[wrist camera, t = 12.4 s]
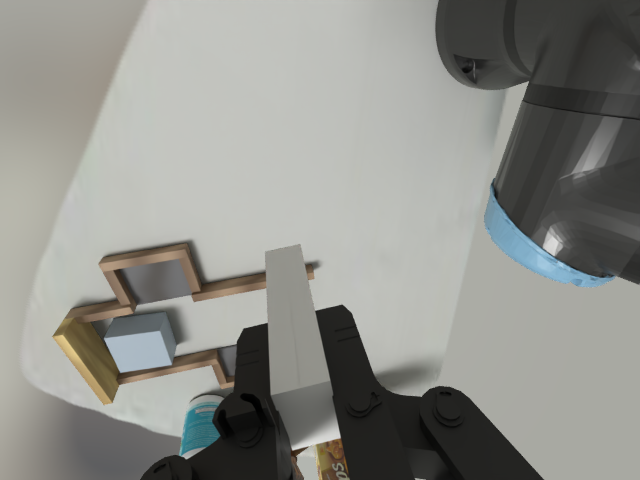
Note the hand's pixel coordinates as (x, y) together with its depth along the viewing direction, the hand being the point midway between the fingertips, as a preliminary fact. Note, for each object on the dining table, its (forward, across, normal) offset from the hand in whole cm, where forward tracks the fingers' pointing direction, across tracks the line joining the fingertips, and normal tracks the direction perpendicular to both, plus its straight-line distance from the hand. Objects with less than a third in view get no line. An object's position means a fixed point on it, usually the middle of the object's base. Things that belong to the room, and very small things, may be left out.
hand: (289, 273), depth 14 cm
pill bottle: (+27, -22, -45) cm, 57 cm away
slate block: (+27, -24, -25) cm, 44 cm away
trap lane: (+27, -15, -26) cm, 40 cm away
